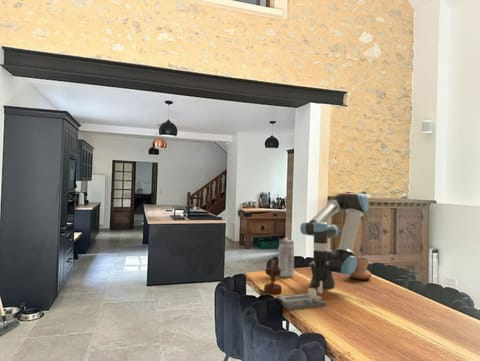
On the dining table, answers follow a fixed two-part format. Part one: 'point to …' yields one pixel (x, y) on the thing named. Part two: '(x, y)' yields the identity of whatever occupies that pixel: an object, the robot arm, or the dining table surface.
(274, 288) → the brown rounded tall piece
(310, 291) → the fader
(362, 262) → the ceramic jug
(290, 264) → the grey canister
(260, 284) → the dining table surface
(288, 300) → the console
